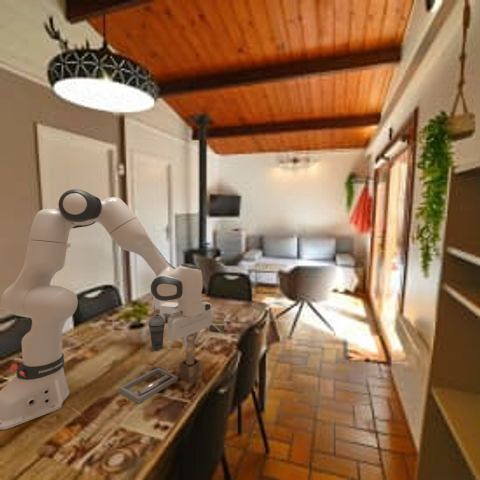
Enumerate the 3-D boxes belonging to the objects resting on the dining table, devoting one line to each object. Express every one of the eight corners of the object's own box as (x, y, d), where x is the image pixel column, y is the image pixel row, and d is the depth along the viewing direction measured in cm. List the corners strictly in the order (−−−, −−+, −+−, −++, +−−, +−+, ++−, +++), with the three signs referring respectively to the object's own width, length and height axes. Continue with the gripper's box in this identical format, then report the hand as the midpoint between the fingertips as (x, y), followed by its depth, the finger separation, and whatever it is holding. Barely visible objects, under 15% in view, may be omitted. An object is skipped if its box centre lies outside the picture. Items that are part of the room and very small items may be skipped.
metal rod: (142, 397, 105) (142, 390, 105) (138, 396, 106) (137, 388, 106) (170, 381, 115) (169, 375, 115) (165, 380, 116) (164, 373, 116)
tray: (139, 405, 102) (139, 399, 102) (119, 393, 109) (119, 387, 108) (178, 382, 116) (177, 376, 116) (158, 372, 122) (158, 367, 122)
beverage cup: (161, 352, 139) (160, 308, 137) (146, 350, 140) (145, 307, 138) (168, 345, 146) (167, 303, 144) (153, 344, 147) (152, 302, 145)
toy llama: (180, 325, 170) (179, 289, 168) (152, 321, 175) (151, 286, 173) (186, 321, 177) (186, 286, 175) (159, 317, 182) (159, 283, 180)
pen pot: (190, 385, 114) (190, 368, 113) (178, 379, 118) (178, 362, 117) (202, 377, 119) (202, 361, 118) (190, 372, 123) (190, 356, 122)
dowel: (190, 366, 115) (190, 337, 114) (184, 364, 116) (184, 335, 115) (195, 363, 117) (196, 335, 116) (190, 361, 119) (190, 333, 118)
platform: (232, 337, 157) (232, 325, 156) (197, 335, 158) (197, 323, 157) (235, 328, 168) (235, 316, 168) (202, 326, 170) (202, 315, 169)
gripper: (174, 317, 105) (174, 357, 106) (214, 303, 121) (214, 338, 122) (162, 313, 108) (162, 351, 110) (202, 300, 125) (202, 334, 126)
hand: (190, 344), depth 116 cm, fingers closed on dowel, 3 cm apart
